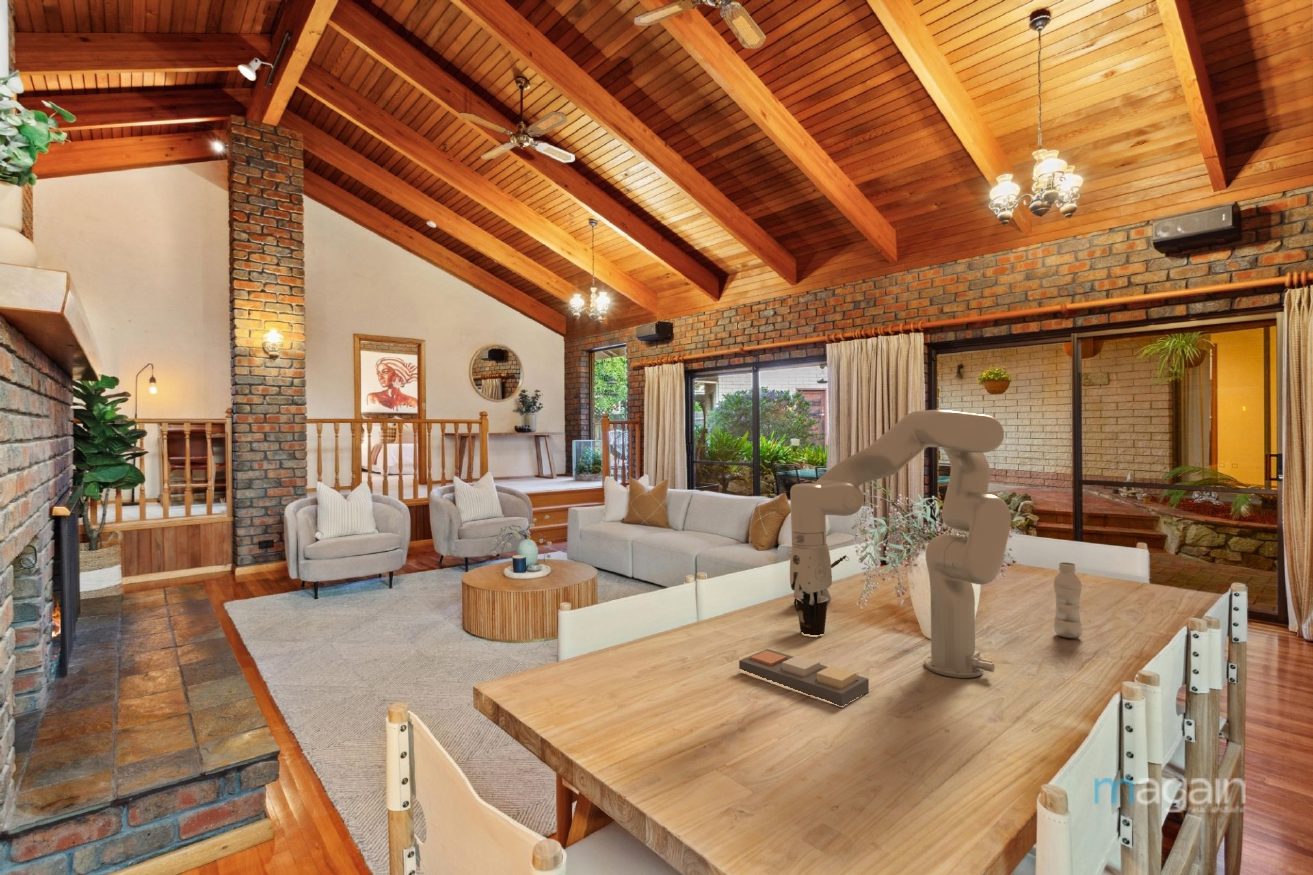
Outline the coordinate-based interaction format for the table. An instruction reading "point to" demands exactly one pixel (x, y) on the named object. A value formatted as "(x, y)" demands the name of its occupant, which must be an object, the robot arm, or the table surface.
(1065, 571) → the plastic bottle
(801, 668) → the key grey
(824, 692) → the keypad
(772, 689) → the table surface
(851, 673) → the block
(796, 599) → the coffee mug
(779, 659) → the key terracotta
